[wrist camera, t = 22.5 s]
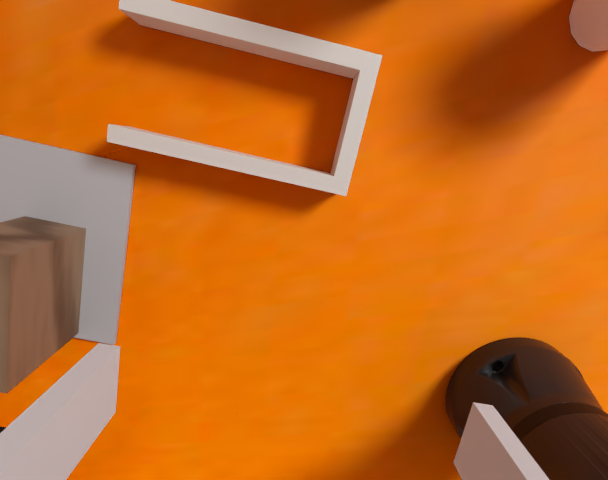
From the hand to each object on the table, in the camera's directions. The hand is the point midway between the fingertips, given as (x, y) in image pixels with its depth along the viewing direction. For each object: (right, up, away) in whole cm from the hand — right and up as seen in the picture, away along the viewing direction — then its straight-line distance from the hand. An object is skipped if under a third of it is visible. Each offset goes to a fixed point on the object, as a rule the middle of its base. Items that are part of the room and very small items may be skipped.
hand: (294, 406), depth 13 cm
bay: (-6, +19, +21) cm, 29 cm away
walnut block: (-26, +2, +25) cm, 36 cm away
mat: (-25, +6, +24) cm, 36 cm away
